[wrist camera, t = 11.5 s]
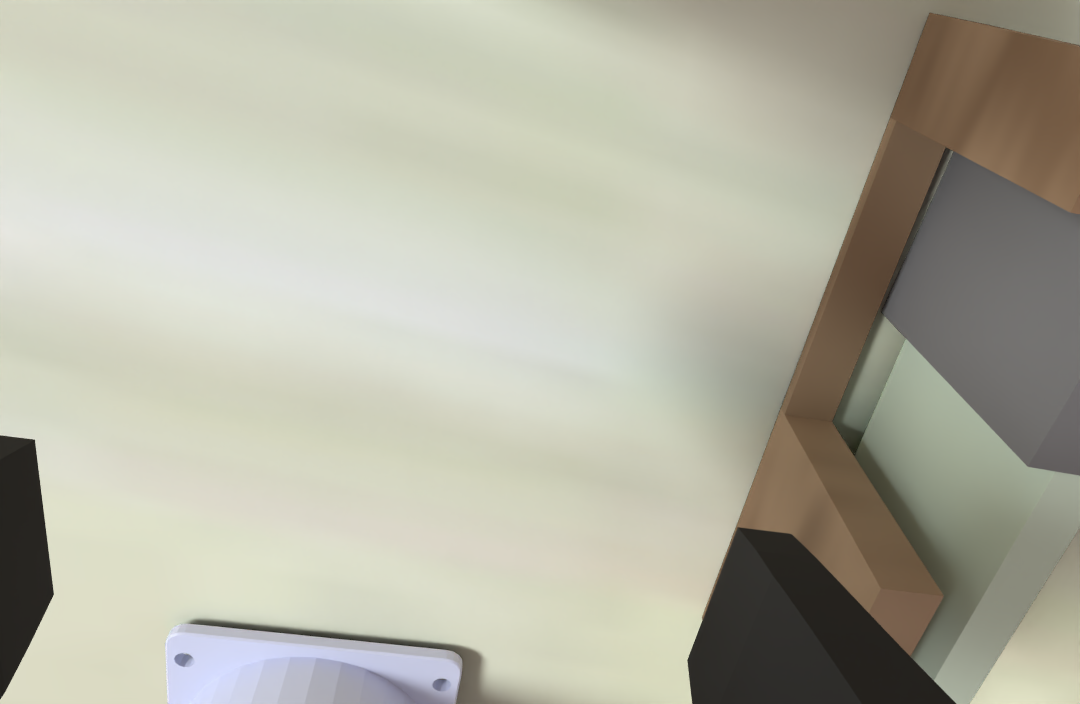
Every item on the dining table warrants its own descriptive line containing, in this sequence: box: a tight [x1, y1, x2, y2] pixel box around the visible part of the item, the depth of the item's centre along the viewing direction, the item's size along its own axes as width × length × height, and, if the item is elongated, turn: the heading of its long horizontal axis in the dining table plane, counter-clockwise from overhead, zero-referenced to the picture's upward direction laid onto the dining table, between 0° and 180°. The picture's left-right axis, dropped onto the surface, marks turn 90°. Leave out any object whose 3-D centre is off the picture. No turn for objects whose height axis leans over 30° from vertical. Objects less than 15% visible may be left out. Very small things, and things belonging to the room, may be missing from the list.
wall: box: [702, 13, 1080, 657], centre depth 17 cm, size 16×1×6 cm, turn 170°
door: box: [854, 339, 1080, 704], centre depth 18 cm, size 8×2×6 cm, turn 170°
